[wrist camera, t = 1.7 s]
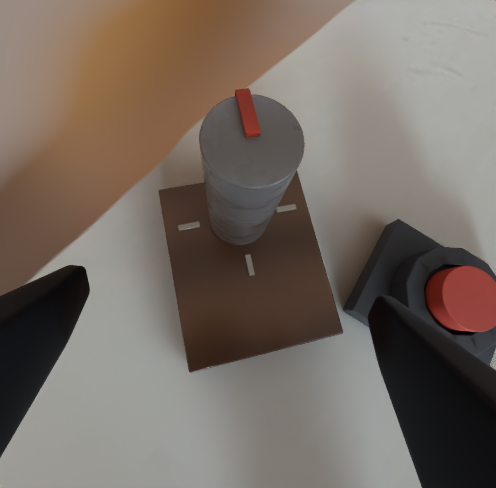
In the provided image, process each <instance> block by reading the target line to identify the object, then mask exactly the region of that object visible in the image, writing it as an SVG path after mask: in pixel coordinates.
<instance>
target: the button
mask: <svg viewBox="0 0 496 488" xmlns="http://www.w3.org/2000/svg"><path fill="white" fill-rule="evenodd" d="M425 300H426V304H427V307H428V309H429V311H430V313H431V315H432V316H433V317H434V318H435V320H436V321H438V322H439V323H440V324H441V325H443V326H445V327H446V328H449V329H452V330H458V331H471V332H483V331H487V330H490V329H491V328H493V327H494V326H495V325H496V282H495V281H494V280H493V279H492V277H491V276H489V275H488V274H487V273H486V272H484V271H483V270H481V269H479V268H476V267H472V266H460V267H454V268H449V269H444V270H440V271H438V272H436V273H435V274H433V275H432V276H431V277H430V279H429V280H428V282H427V285H426V288H425Z"/></svg>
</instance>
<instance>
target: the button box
mask: <svg viewBox="0 0 496 488" xmlns="http://www.w3.org/2000/svg"><path fill="white" fill-rule="evenodd" d="M460 266H472V267H476V268H479V269H481V270H483V271H484V272H486V273H487V274H488V275H489V276H491V277H492V279H493V280H494V281H495V282H496V275H495V274H494V273H493V271H492V270H491V268H490V267H489V265H488V264H487V263H486V262H484V261H483V260H481V259H479V258H478V257H476V256H474V255H473V254H471V253H469V252H468V251H466V250H464V249H463V248H450V247H444V246H442V245H440V244H439V243H437V242H435V241H434V240H432V239H430V238H429V237H427V236H426V235H424V234H422V233H421V232H419V231H417V230H416V229H414V228H412V227H411V226H409V225H408V224H406V223H404V222H403V221H401V220H399V219H398V220H396V221H394V222H392V223H390V224H388V225H387V226H386V227H385V229H384V231H383V233H382V235H381V237H380V239H379V241H378V243H377V245H376V247H375V248H374V250H373V252H372V254H371V256H370V258H369V260H368V262H367V264H366V266H365V268H364V270H363V272H362V274H361V276H360V278H359V280H358V281H357V283H356V285H355V287H354V289H353V291H352V293H351V295H350V297H349V299H348V301H347V303H346V305H345V307H344V309H343V311H344V312H346V313H348V314H349V315H351V316H352V317H354V318H355V319H357V320H358V321H360V322H362V323H363V324H365V325H366V326H368V327H369V324H368V313H369V311H370V309H371V307H372V305H373V303H374V301H375V299H376V297H377V296H379V295H384V296H391V297H393V298H395V299H396V300H398V301H399V302H400V303H402V304H403V305H405V306H406V307H407V308H409V309H410V310H412V311H413V312H414V313H416V314H417V315H419V316H420V317H421V318H423V319H424V320H426V321H427V322H428V323H430V324H431V325H433V326H434V327H436V328H437V329H438V330H440V331H441V332H443V333H444V334H445V335H447V336H448V337H450V338H451V339H452V340H454V341H455V342H457V343H458V344H459V345H461V346H462V347H464V348H465V349H466V350H468V351H469V352H471V353H472V354H474V355H475V356H476V357H478V358H479V359H481V360H482V361H483V362H485V363H486V364H488V365H490V363H491V360H492V357H493V354H494V351H495V348H496V325H495V326H494V327H493V328H491V329H490V330H487V331H483V332H471V331H458V330H452V329H449V328H446V327H445V326H443V325H441V324H440V323H439V322H438V321H436V320H435V318H434V317H433V316H432V315H431V313H430V311H429V309H428V307H427V304H426V300H425V288H426V285H427V282H428V280H429V279H430V277H431V276H432V275H433V274H435V273H436V272H438V271H440V270H444V269H449V268H454V267H460Z"/></svg>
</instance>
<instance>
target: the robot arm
mask: <svg viewBox="0 0 496 488" xmlns="http://www.w3.org/2000/svg"><path fill="white" fill-rule="evenodd" d="M89 292H90V287H89V282H88V278H87V273H86V269H85V268H84V267H83V266H75V265H68V266H66V267H63V268H61V269H59V270H57V271H55V272H52V273H50V274H48V275H46V276H44V277H41V278H39V279H37V280H35V281H33V282H30V283H28V284H26V285H24V286H22V287H19V288H17V289H15V290H13V291H11V292H8V293H6V294H4V295H2V296H0V457H1V456H2V454H3V452H4V450H5V449H6V447H7V445H8V444H9V442H10V440H11V438H12V437H13V435H14V433H15V432H16V430H17V428H18V426H19V425H20V423H21V421H22V420H23V418H24V416H25V415H26V413H27V411H28V409H29V408H30V406H31V404H32V403H33V401H34V399H35V397H36V396H37V394H38V392H39V391H40V389H41V387H42V385H43V384H44V382H45V380H46V379H47V377H48V375H49V373H50V372H51V370H52V368H53V367H54V365H55V363H56V361H57V360H58V358H59V356H60V355H61V353H62V351H63V349H64V348H65V346H66V344H67V342H68V340H69V338H70V336H71V334H72V332H73V330H74V327H75V325H76V323H77V321H78V318H79V316H80V314H81V312H82V309H83V307H84V305H85V303H86V300H87V298H88V296H89ZM368 324H369V328H370V332H371V336H372V340H373V344H374V349H375V353H376V357H377V361H378V364H379V367H380V371H381V374H382V376H383V379H384V382H385V385H386V388H387V390H388V393H389V396H390V399H391V402H392V405H393V407H394V410H395V413H396V416H397V419H398V421H399V424H400V427H401V430H402V433H403V435H404V438H405V441H406V444H407V447H408V449H409V452H410V455H411V458H412V461H413V464H414V466H415V469H416V472H417V475H418V478H419V480H420V483H421V486H422V488H496V370H495V369H493V368H492V367H490V366H489V365H488V364H486V363H485V362H483V361H482V360H481V359H479V358H478V357H476V356H475V355H474V354H472V353H471V352H469V351H468V350H466V349H465V348H464V347H462V346H461V345H459V344H458V343H457V342H455V341H454V340H452V339H451V338H450V337H448V336H447V335H445V334H444V333H443V332H441V331H440V330H438V329H437V328H436V327H434V326H433V325H431V324H430V323H428V322H427V321H426V320H424V319H423V318H421V317H420V316H419V315H417V314H416V313H414V312H413V311H412V310H410V309H409V308H407V307H406V306H405V305H403V304H402V303H400V302H399V301H398V300H396V299H395V298H393V297H391V296H384V295H379V296H377V297H376V299H375V301H374V303H373V305H372V307H371V309H370V311H369V313H368Z"/></svg>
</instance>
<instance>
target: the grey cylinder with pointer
mask: <svg viewBox="0 0 496 488" xmlns="http://www.w3.org/2000/svg"><path fill="white" fill-rule="evenodd" d="M199 142H200V150H201V158H202V165H203V173H204V181H205V189H206V196H207V204H208V212H209V219H210V224H211V227H212V229H213V231H214V233H215V234H216V235H217V236H218V237H219V238H220V239H222V240H223V241H225V242H227V243H229V244H233V245H245V244H249V243H252V242H254V241H255V240H257V239H258V238H259V237H260V236H261V235H262V234H263V232H264V231H265V229H266V227H267V225H268V223H269V221H270V219H271V217H272V216H273V214H274V212H275V210H276V208H277V206H278V204H279V202H280V200H281V199H282V197H283V195H284V193H285V191H286V189H287V187H288V185H289V183H290V181H291V180H292V178H293V176H294V174H295V172H296V170H297V168H298V166H299V164H300V163H301V160H302V157H303V153H304V136H303V132H302V129H301V126H300V124H299V123H298V121H297V119H296V118H295V116H294V115H293V114H292V113H291V112H290V111H289V110H288V109H287V108H286V107H285V106H283V105H282V104H280V103H279V102H277V101H275V100H273V99H270V98H268V97H264V96H260V95H251V93H250V89H249V88H248V89H240V90H235V96H234V97H230V98H228V99H226V100H223V101H222V102H220V103H218V104H217V105H216V106H215V107H214V108H213V109H212V110H211V111H210V112H209V113H208V114H207V116H206V117H205V119H204V121H203V123H202V126H201V129H200V135H199Z"/></svg>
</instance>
